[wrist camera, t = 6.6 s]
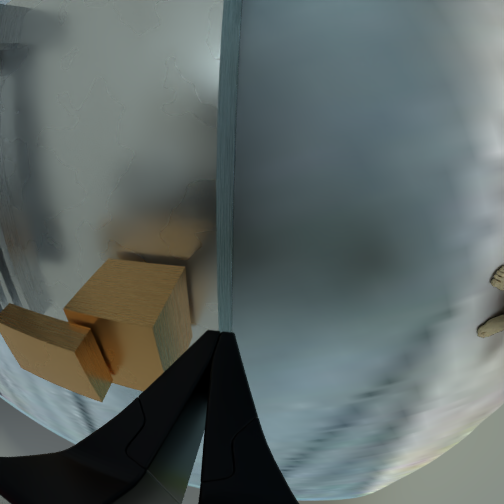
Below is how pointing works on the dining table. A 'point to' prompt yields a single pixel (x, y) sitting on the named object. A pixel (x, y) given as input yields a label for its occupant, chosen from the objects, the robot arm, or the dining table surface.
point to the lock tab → (107, 330)
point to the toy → (497, 322)
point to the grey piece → (117, 147)
